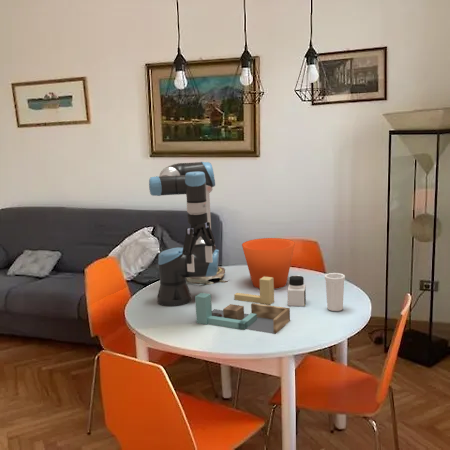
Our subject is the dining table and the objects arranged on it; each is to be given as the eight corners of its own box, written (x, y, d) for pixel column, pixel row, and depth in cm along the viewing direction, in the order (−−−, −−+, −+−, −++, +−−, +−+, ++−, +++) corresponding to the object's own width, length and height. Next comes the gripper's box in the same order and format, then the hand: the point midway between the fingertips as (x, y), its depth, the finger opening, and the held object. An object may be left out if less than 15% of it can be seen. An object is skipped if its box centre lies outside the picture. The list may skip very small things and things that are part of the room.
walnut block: (223, 321, 208) (223, 309, 208) (230, 315, 214) (230, 304, 213) (237, 323, 206) (236, 311, 205) (244, 317, 211) (243, 306, 210)
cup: (332, 304, 222) (332, 271, 219) (349, 308, 217) (349, 275, 214) (321, 309, 217) (320, 276, 214) (337, 314, 211) (337, 279, 208)
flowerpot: (296, 276, 264) (295, 237, 261) (295, 292, 240) (294, 249, 236) (246, 276, 268) (244, 238, 264) (240, 292, 244) (239, 250, 240)
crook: (196, 323, 208) (195, 296, 206) (211, 312, 218) (210, 287, 216) (243, 330, 198) (242, 302, 196) (256, 319, 208) (255, 293, 206)
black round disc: (204, 318, 213) (204, 317, 213) (211, 313, 218) (211, 312, 218) (217, 320, 210) (217, 319, 210) (224, 315, 216) (224, 314, 215)
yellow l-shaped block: (274, 301, 229) (273, 277, 227) (269, 305, 225) (269, 280, 223) (238, 297, 237) (237, 273, 235) (233, 300, 233) (232, 276, 231)
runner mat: (196, 322, 210) (196, 321, 210) (214, 310, 222) (214, 309, 222) (275, 335, 194) (275, 333, 194) (290, 321, 206) (290, 320, 206)
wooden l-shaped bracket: (238, 327, 202) (237, 314, 201) (252, 316, 213) (252, 303, 212) (276, 334, 194) (276, 319, 193) (290, 321, 206) (289, 308, 205)
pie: (167, 281, 268) (166, 271, 267) (203, 269, 289) (202, 260, 288) (209, 290, 251) (208, 280, 250) (244, 276, 271) (243, 267, 270)
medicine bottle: (304, 306, 221) (304, 278, 219) (287, 306, 223) (287, 278, 221) (305, 300, 228) (305, 274, 226) (289, 300, 230) (288, 273, 227)
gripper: (187, 219, 188) (191, 276, 192) (221, 207, 209) (224, 259, 214) (170, 218, 192) (174, 274, 196) (205, 206, 213) (208, 257, 217)
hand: (200, 266), depth 205 cm, fingers open, 13 cm apart
